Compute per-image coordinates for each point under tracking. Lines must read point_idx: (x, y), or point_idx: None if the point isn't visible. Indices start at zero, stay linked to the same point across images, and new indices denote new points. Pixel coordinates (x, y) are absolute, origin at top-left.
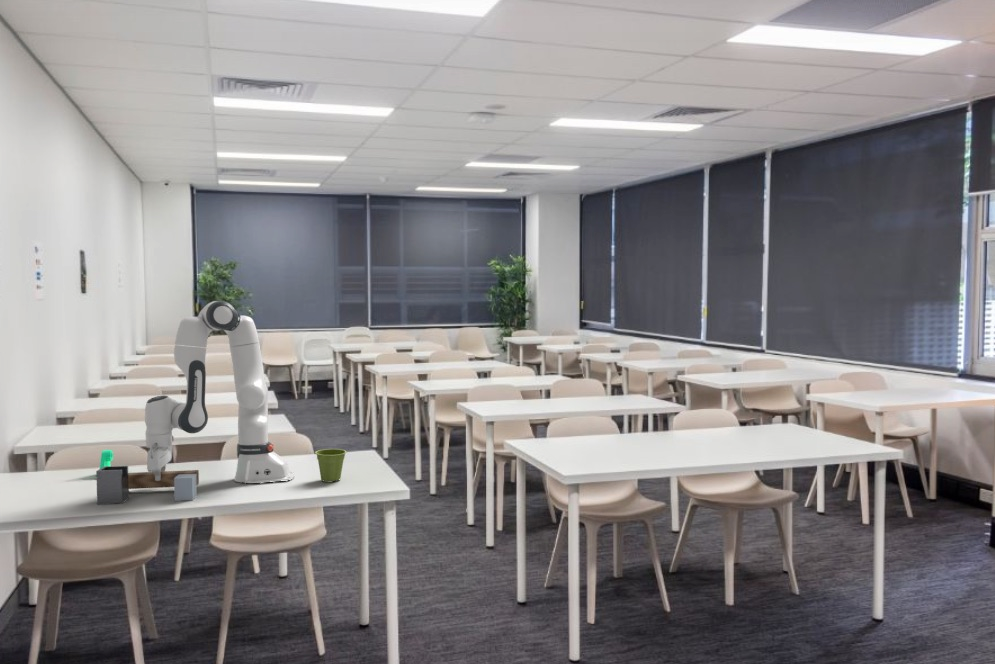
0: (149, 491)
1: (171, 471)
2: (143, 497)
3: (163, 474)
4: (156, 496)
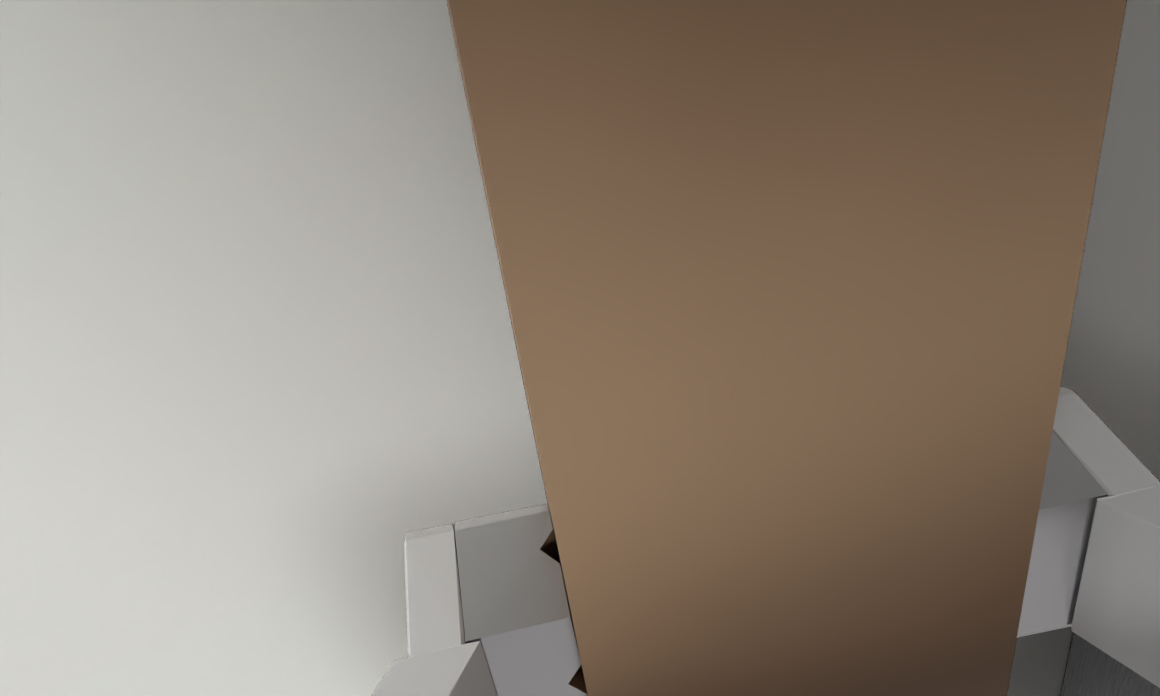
0: None
1: (623, 375)
2: (1113, 377)
3: (1032, 460)
4: (1108, 161)
